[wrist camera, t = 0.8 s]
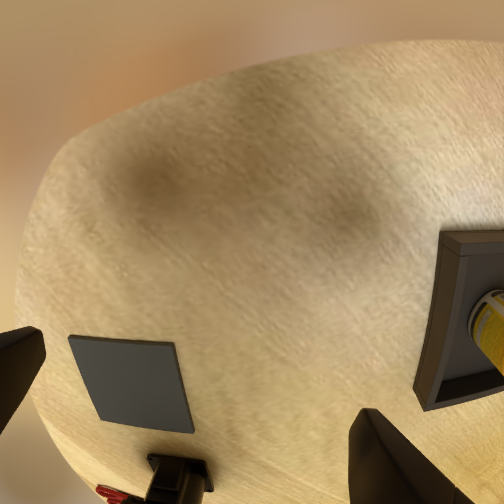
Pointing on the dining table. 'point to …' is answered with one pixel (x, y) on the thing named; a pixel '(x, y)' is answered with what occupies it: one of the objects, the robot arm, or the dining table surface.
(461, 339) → the tray
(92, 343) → the mat
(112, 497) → the scissors
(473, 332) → the supplement bottle
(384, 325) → the dining table surface
